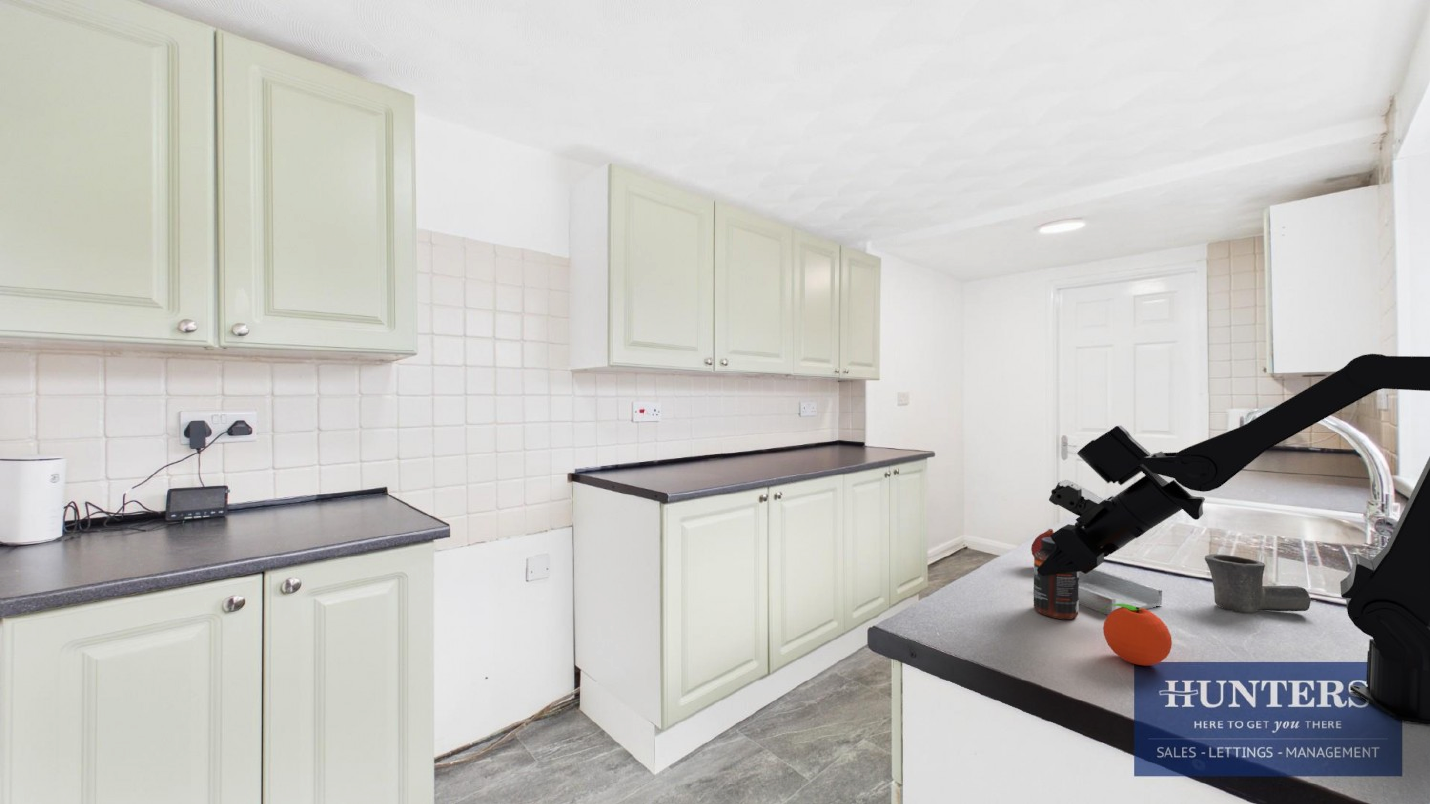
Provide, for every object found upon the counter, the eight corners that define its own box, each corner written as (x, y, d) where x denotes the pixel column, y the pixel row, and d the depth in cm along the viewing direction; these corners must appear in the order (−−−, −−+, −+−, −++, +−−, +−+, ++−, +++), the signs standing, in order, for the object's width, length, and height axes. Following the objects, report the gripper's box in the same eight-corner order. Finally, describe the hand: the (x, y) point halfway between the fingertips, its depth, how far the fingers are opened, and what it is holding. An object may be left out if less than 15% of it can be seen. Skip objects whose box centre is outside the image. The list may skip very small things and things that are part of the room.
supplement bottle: (1087, 617, 84) (1089, 543, 83) (1060, 623, 81) (1062, 547, 81) (1050, 603, 89) (1052, 533, 89) (1024, 608, 87) (1025, 537, 87)
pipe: (1318, 622, 82) (1320, 569, 82) (1218, 614, 85) (1219, 563, 85) (1285, 606, 88) (1287, 556, 88) (1193, 599, 91) (1194, 551, 91)
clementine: (1082, 651, 73) (1083, 598, 73) (1114, 641, 76) (1116, 590, 75) (1150, 681, 66) (1151, 622, 65) (1183, 669, 68) (1185, 612, 68)
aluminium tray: (1161, 606, 88) (1162, 590, 88) (1111, 616, 84) (1112, 599, 84) (1089, 581, 99) (1090, 567, 99) (1042, 589, 95) (1042, 574, 95)
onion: (1024, 567, 106) (1025, 526, 106) (1043, 563, 109) (1044, 523, 109) (1053, 577, 101) (1054, 533, 101) (1073, 572, 104) (1074, 530, 103)
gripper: (1106, 459, 88) (1029, 516, 96) (1069, 471, 75) (984, 535, 84) (1168, 517, 82) (1080, 572, 91) (1139, 541, 70) (1040, 602, 78)
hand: (1046, 568), depth 86 cm, fingers closed on supplement bottle, 6 cm apart
